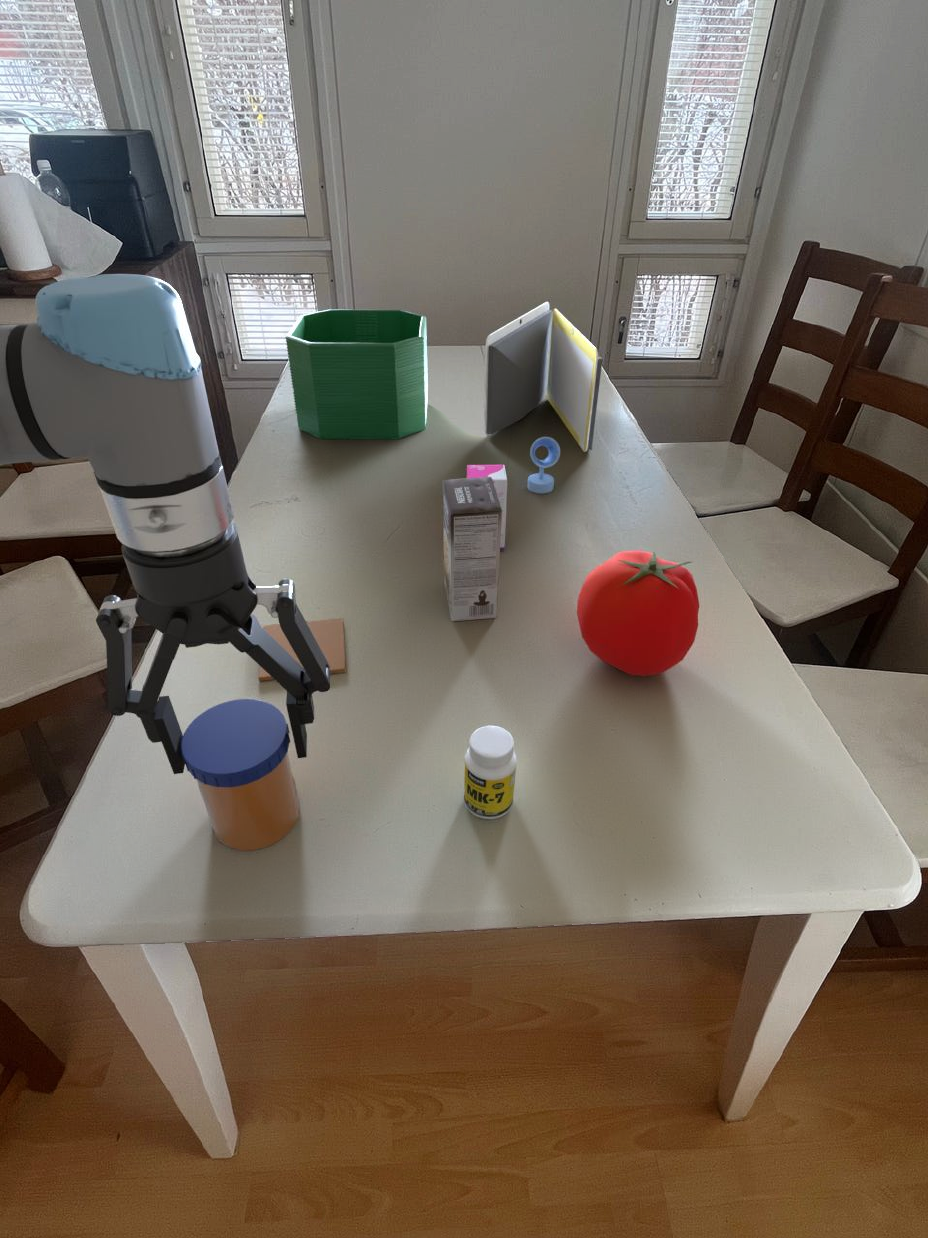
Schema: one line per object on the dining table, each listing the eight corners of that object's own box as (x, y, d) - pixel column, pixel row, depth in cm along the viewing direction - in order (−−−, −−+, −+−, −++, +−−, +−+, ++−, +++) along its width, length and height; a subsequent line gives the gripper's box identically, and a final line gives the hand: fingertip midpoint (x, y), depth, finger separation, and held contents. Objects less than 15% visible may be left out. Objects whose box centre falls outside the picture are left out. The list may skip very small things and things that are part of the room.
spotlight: (556, 497, 117) (552, 479, 123) (562, 441, 111) (558, 425, 117) (527, 497, 117) (525, 479, 123) (531, 441, 111) (528, 425, 117)
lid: (182, 798, 56) (177, 784, 54) (187, 721, 62) (182, 708, 61) (293, 776, 57) (290, 762, 56) (286, 704, 64) (284, 690, 63)
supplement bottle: (458, 815, 65) (458, 755, 60) (470, 777, 69) (471, 717, 64) (508, 825, 65) (512, 765, 60) (517, 786, 68) (522, 727, 63)
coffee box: (442, 583, 97) (441, 477, 87) (487, 580, 97) (491, 475, 88) (450, 623, 89) (450, 512, 80) (499, 619, 90) (504, 509, 80)
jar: (207, 856, 62) (179, 780, 55) (218, 786, 68) (194, 710, 62) (298, 844, 63) (281, 768, 57) (300, 776, 69) (285, 701, 63)
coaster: (258, 681, 80) (258, 677, 80) (264, 629, 88) (263, 625, 88) (345, 672, 82) (345, 668, 81) (343, 621, 89) (342, 617, 89)
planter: (293, 439, 136) (279, 343, 125) (314, 393, 157) (303, 308, 146) (425, 439, 137) (422, 344, 126) (428, 394, 157) (426, 309, 146)
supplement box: (502, 531, 108) (506, 463, 101) (504, 551, 103) (508, 481, 97) (465, 531, 108) (466, 463, 101) (466, 551, 103) (466, 481, 96)
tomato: (708, 689, 80) (737, 592, 71) (595, 705, 77) (612, 606, 69) (652, 610, 92) (671, 519, 84) (553, 622, 90) (563, 529, 81)
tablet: (604, 452, 132) (619, 347, 121) (493, 460, 129) (497, 352, 117) (554, 390, 160) (562, 300, 148) (461, 395, 157) (462, 303, 145)
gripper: (-21, 576, 42) (97, 806, 56) (345, 544, 45) (373, 770, 59) (20, 517, 48) (118, 738, 62) (342, 492, 51) (367, 708, 65)
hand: (242, 753), depth 60 cm, fingers open, 10 cm apart
